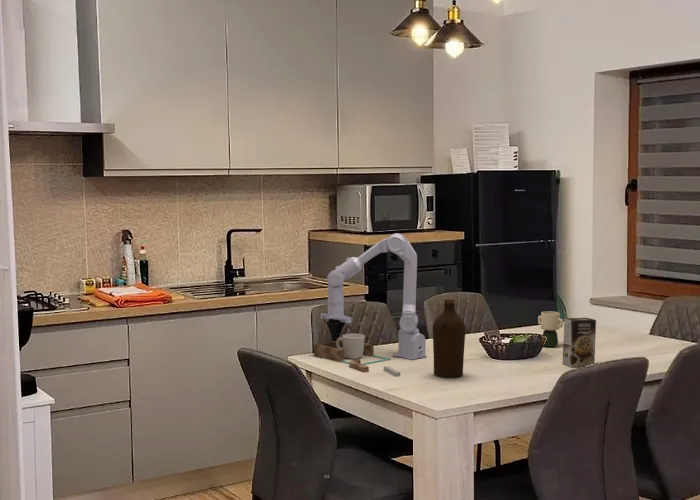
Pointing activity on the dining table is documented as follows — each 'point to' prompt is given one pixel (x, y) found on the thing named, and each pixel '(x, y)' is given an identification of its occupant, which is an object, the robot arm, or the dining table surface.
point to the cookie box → (579, 342)
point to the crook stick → (358, 365)
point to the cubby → (337, 350)
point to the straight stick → (391, 371)
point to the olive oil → (448, 342)
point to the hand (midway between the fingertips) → (335, 340)
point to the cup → (352, 345)
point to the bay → (373, 361)
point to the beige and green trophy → (550, 326)
